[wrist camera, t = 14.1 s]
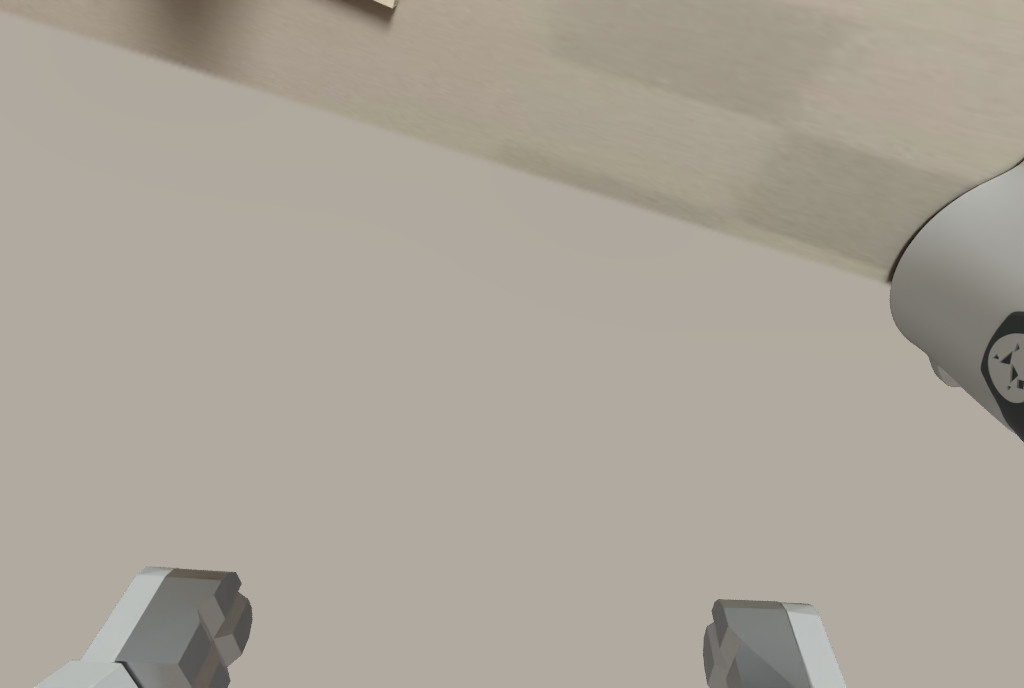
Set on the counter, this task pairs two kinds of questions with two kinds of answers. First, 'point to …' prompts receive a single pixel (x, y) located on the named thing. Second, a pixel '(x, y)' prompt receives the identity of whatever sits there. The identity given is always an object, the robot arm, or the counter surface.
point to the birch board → (388, 2)
